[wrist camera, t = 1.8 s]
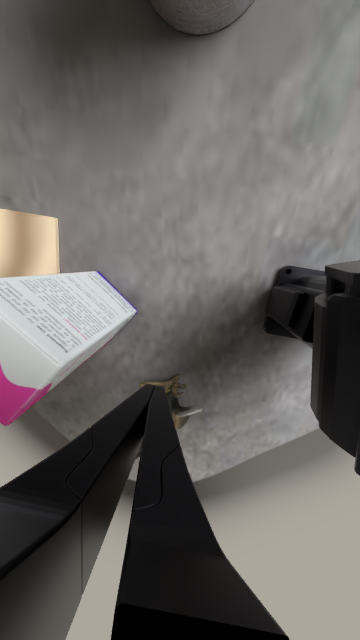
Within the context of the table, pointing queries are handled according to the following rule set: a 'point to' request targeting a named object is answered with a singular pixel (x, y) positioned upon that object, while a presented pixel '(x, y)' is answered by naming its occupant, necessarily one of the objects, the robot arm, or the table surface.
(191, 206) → the table surface
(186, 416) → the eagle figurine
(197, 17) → the pillar candle
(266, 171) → the table surface
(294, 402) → the table surface
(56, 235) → the pale gold metal plate
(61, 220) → the table surface
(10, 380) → the supplement box
